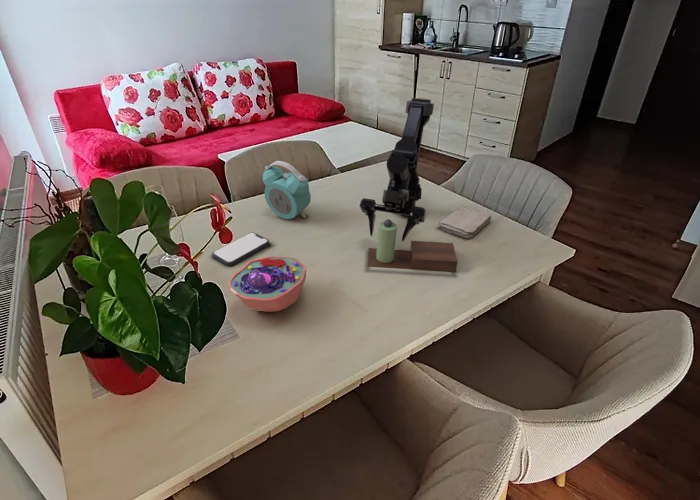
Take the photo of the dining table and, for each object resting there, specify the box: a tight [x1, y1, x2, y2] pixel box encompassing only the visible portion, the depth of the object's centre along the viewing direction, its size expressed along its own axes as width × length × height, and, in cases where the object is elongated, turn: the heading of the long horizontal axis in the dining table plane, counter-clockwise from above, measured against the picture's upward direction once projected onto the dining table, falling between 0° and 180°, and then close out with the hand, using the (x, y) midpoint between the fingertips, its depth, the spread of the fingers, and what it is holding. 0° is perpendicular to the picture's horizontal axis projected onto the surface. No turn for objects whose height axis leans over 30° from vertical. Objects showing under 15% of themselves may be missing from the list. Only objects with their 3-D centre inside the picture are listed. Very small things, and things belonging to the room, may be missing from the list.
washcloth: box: [437, 206, 492, 239], centre depth 148 cm, size 12×18×3 cm, turn 142°
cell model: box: [228, 256, 307, 313], centre depth 109 cm, size 17×20×11 cm
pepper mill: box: [376, 218, 398, 263], centre depth 124 cm, size 5×5×13 cm
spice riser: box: [367, 240, 459, 273], centre depth 127 cm, size 10×25×5 cm, turn 86°
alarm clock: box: [262, 160, 312, 220], centre depth 146 cm, size 17×10×20 cm, turn 58°
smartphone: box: [211, 232, 270, 267], centre depth 131 cm, size 9×2×16 cm
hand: (386, 238), depth 124 cm, fingers open, 9 cm apart
